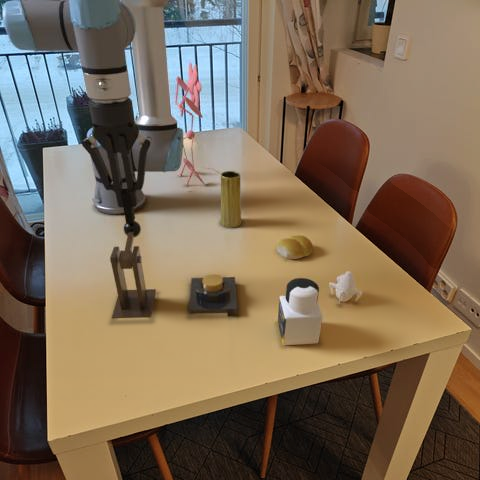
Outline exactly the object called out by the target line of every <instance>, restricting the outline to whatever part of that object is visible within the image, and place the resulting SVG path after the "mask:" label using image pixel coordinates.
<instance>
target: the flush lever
mask: <svg viewBox="0 0 480 480" xmlns="http://www.w3.org/2000/svg"><path fill="white" fill-rule="evenodd" d="M141 232H142V227H141V225H140V223H139V222H137V221H136V220H134V223H133V224H126V222H125V223H124V225H123V233H124V234H125V235H126V241H125V246H124V250H120V256H119V263H120V267H121V269H123V270H133V267H132V261H131V255H132V252H133V245H134V240H135V238H137V237H139V235H140V234H141Z"/></svg>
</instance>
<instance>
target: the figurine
mask: <svg viewBox="0 0 480 480" xmlns="http://www.w3.org/2000/svg"><path fill="white" fill-rule="evenodd" d="M198 76H199V73H198V67H197V64H194V66H193V65H192V62H189V63H188V78H189V79H188V80H187V81H186V82H185V81H184V80H183V79H182V78H180V76H176V88H175V98H174V99H175V101H174V105H175V106H178V107H177V108H178V109H179V113H180V117H181V118H183V115H184V112H186V113H187V114H189V115H190V116H191V122H190V123H191V125H190V130H188V131H186V136H185V137H183V140H186V139H188V140H191V143H190V144H191V145H190V150H191V161H190V160H189V159H188V157H187V153H186V149H185V145H184V144H183V152H184V156H185V157H184V158H182V160H183V166H182V169H181V171H180V174H179V177H182V176H183V173H184V170H185V168H188V169H189V170H190V173H189V176H188V177H187V178H188V179H187V181H186V184H185V186H186V187H188V185H189V182H190V180H191V178H192V175H193V174H194V175H195V176H196V178H197V179H198V180H199V181H200V182H201V184H203V185H206V183H205V181H204V180H203V179H202V177H201V176H200V175H199V174H198V172H197V171H196V170H195V165H194V153H193V144H194V138H195V136H196V134H195V132H194V131H193V128H194V127H193V125H194V115H193V113H194V114H196V115H197V116H198V117H200V118H201V119H203V118H204V117H203V115H202V113H201V110H200V93H201V92H202V84H201V81H200V80H199V79H198ZM179 87H180V88H181V89H182V90H183V91H184V92H185V93H184V95H183V96H182V99H181V101H180V103H178V95H179V94H178V93H179ZM188 93H189V95H190V98H189V97H187V95H188ZM185 103H186V105H187V106H188V107H189V108H190V110H191V111H192V112H193V113H192V112H191V111H189V110H187V109H186V108H185ZM201 168H202V169H203V168H204V169H206V167H205V166H204V167H203V166H202V167H201ZM207 169H208V170H212V171H215V172H217V173H219V171H218V170H216V169H215V168H209V167H207ZM191 192H192V193H193V192H194V191H193V190H189V191H187V193H191Z"/></svg>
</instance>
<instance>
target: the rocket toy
mask: <svg viewBox="0 0 480 480" xmlns="http://www.w3.org/2000/svg"><path fill="white" fill-rule="evenodd" d="M328 285H329V289H330V294H331V295H332V296H333V295H334V293H333V292H334V291H333V290H334V288H335V295H336V298H337V299H338V305H341V302H343V303H345V302H348V301H350V300H351V299H352V298H353V296H354V295H356V298H355V300H354V303H356V302H357V301H358V300H359V299H360V298H361V296H363V291H360V290H357V289H356V280H355V277H354V276H353V273H352V271H351V270H346V271H345V273H343V274H340V275H338V276H337V277H336V283H335V282H331V281H330V282H329V283H328Z"/></svg>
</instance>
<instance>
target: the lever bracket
mask: <svg viewBox="0 0 480 480" xmlns="http://www.w3.org/2000/svg"><path fill="white" fill-rule="evenodd" d="M120 251H121V250H120V247H119V246H113V248H112V251H111V254H110V256H109V261H110V264H111V269H112V274H113V278H114V283H115V289H116V293H117V297H116V301H115V305H114V308H113V310H112V315H111V319H136V318H137V319H143V318H145V319H146V318H147V319H148V318H152V317H151V316H152V311H153V306H154V299H155V294H156V288H154V289H153V288H151V289H149V288H148V289H147V286H146V280H145V276H144V269H143V257H142V255H141V249H140V246H139V245H134V246H133V247H132V255H131V261H132V271H133V277H134V283H135V289H128V285H127V281H126V276H125V272H124V271H125V269H121V267H120V263H119V256H120Z"/></svg>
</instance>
